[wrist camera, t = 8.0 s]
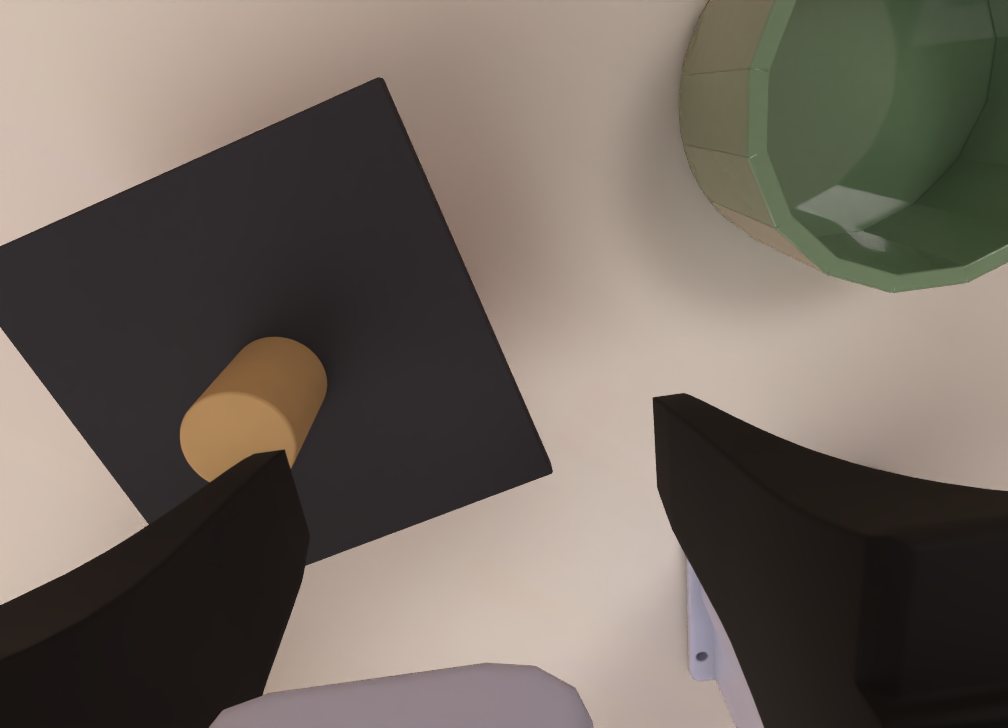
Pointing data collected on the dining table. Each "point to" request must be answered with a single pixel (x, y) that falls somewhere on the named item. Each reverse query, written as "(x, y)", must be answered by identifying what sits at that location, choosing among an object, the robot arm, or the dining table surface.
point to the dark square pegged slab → (279, 329)
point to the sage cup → (856, 133)
